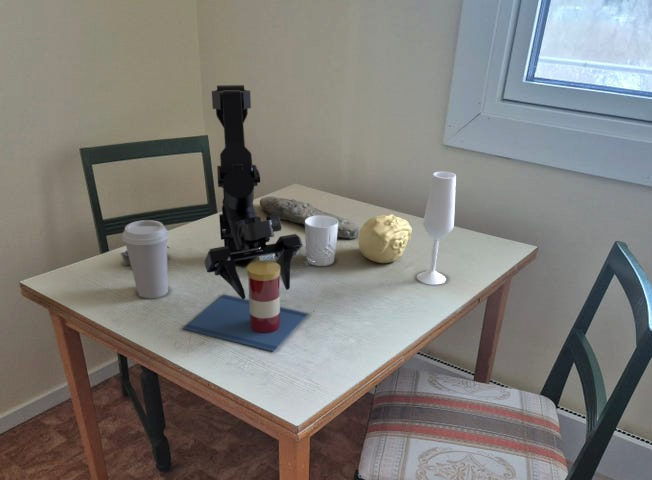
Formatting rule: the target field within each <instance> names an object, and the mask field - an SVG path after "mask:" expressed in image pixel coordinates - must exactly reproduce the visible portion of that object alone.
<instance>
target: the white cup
mask: <svg viewBox="0 0 652 480" xmlns="http://www.w3.org/2000/svg"><path fill="white" fill-rule="evenodd" d="M337 232H338V220H337V219H335V218H333V217H330V216H322V215H319V216H312V217H309V218H307V219H306V220H305V225H304V235H305V236H304V239H305V249H306V250H305V251H306V253H305V254H306V255H307V257H308V258H309V259H311V260H312V261H315V262H312V261H310V260H308V259H307V257H306V262H307V263H308V264H310V265H311V266H317V267H325V266H330V265H332V264H334V263H335V258H336V250H337V243H338V241H337V240H338V236H337Z"/></svg>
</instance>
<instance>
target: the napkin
mask: <svg viewBox="0 0 652 480" xmlns="http://www.w3.org/2000/svg"><path fill="white" fill-rule="evenodd" d="M307 316H308V313H307V312H304V311H299V310H294V309H290V308H286V307H281V306H280V328H279V329H278V330H276V331H275V332H272V333H258V332H255V331H253V330H252V329H251V328H250V312H249V299H246V298H245V299H242V298H241V297H236V296H233V295H227V294H222V295H221V296H219V298H218V299H216V300H215V301H214V302H213V303H212V304H210V305H208V306H207V308H205V309H204V310H203V311H202V312H201V313H199V314H198V315H197V316H196V317H194V318H193V319H192V320H190V322H188V323H187V324H186V325H184V326H183V328H182V329H183V330H185V331H189V332H193V333H195V334H196V333H197V334H201V335H204V336H208V337H213V338H216V339H220V340H224V341H228V342H232V343H235V344H236V343H237V344H239V345H240V344H241V345H244V346H245V345H246V346H249V347H253V348H256V349H260V350H263V351H268V352H271V353H273V352H275V351H276V349H278V348H279V346H280V345H281V344H282V343H283V342H284V341H285V340H286V338H287V337H288V336H290V334H292V332H293V331H294V330H295V329H296V328H297V327H298V326H299V324H300V323H301V322H302V321H303V320H304V319H305V318H306V317H307Z"/></svg>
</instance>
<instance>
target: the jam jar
mask: <svg viewBox="0 0 652 480" xmlns="http://www.w3.org/2000/svg"><path fill="white" fill-rule="evenodd" d="M246 275H247V283H248V284H247V286H248V287H247V288H248V300H249V312H250V328H251V329H252V330H253V331H255V332H258V333H272V332H275V331H276V330H278V329H279V328H280V307H281V290H280V283H281V282H280V277H281V275H280V265H279V264H278V263H276V261H272V260H262V259H261V260H256V261H251V262H250V263H249V264H248V265H246Z"/></svg>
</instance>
